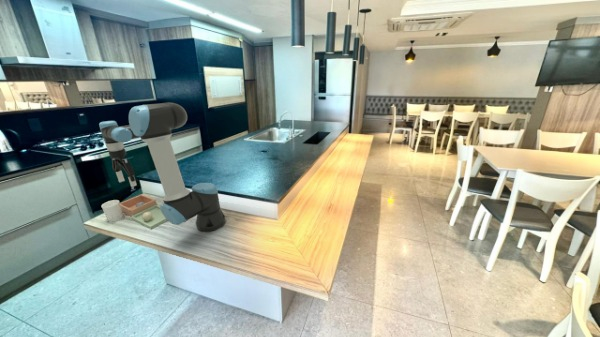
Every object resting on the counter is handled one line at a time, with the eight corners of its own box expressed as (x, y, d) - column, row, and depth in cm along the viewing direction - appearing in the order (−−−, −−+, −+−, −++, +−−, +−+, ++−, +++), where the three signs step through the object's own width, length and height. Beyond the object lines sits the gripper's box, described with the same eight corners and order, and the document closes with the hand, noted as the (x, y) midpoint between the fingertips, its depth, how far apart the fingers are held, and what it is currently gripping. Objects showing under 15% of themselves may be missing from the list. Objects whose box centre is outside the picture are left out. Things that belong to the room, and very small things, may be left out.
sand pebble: (155, 219, 129) (153, 211, 127) (146, 223, 125) (144, 216, 123) (150, 216, 131) (148, 209, 130) (141, 221, 127) (139, 213, 126)
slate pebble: (141, 200, 140) (144, 207, 141) (132, 204, 136) (136, 211, 137) (145, 200, 138) (148, 207, 139) (136, 204, 134) (139, 211, 135)
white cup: (110, 224, 126) (103, 208, 122) (105, 219, 130) (99, 204, 126) (126, 217, 132) (121, 202, 128) (121, 213, 136) (116, 198, 132)
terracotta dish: (157, 206, 142) (155, 199, 140) (133, 218, 131) (130, 210, 129) (144, 201, 149) (142, 194, 147) (120, 211, 138) (117, 204, 136)
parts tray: (177, 216, 132) (176, 213, 132) (151, 230, 121) (150, 226, 120) (157, 207, 141) (156, 204, 141) (131, 219, 130) (130, 216, 129)
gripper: (135, 150, 125) (146, 185, 133) (113, 144, 136) (124, 177, 144) (120, 154, 119) (132, 190, 127) (97, 148, 130) (110, 182, 138)
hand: (127, 183), depth 136 cm, fingers open, 13 cm apart
